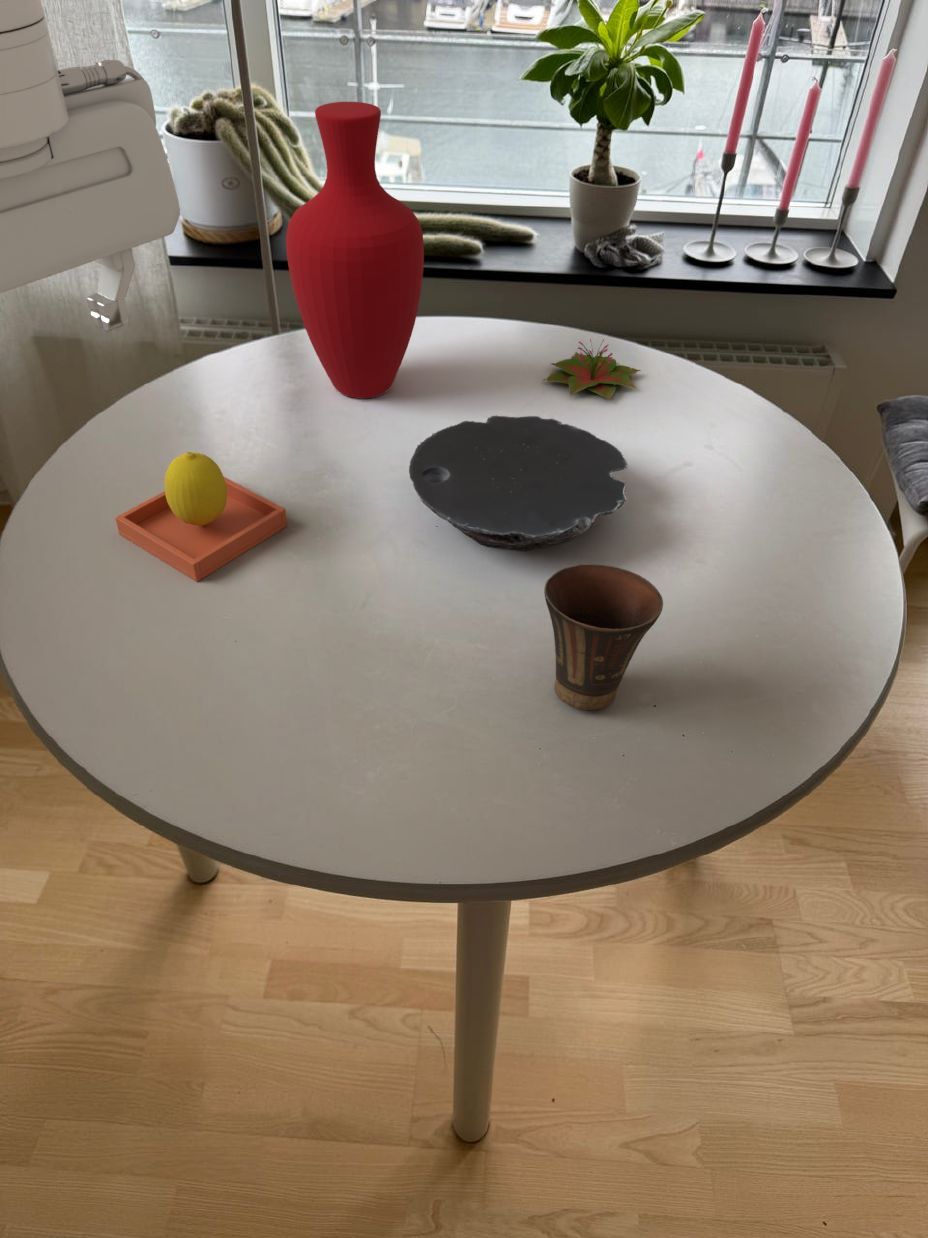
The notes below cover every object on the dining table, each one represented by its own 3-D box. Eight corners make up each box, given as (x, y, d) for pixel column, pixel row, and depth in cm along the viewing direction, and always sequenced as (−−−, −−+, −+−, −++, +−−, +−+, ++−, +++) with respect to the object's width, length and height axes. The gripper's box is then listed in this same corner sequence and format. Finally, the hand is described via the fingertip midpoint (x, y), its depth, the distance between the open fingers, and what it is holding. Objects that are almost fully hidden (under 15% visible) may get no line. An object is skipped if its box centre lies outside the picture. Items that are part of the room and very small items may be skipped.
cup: (643, 651, 81) (661, 556, 74) (647, 730, 74) (668, 633, 68) (537, 642, 82) (547, 547, 75) (533, 720, 75) (542, 623, 68)
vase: (372, 346, 122) (359, 82, 103) (451, 388, 115) (453, 111, 95) (275, 383, 115) (241, 105, 95) (352, 431, 107) (333, 138, 87)
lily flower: (615, 414, 111) (620, 378, 108) (524, 386, 115) (526, 350, 112) (657, 373, 118) (663, 338, 115) (570, 349, 123) (573, 314, 120)
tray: (196, 582, 87) (193, 564, 85) (119, 534, 92) (114, 517, 90) (287, 525, 93) (285, 508, 92) (210, 484, 98) (207, 467, 97)
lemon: (214, 547, 90) (200, 474, 84) (161, 535, 91) (145, 462, 86) (242, 515, 94) (231, 443, 88) (192, 503, 95) (178, 432, 90)
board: (365, 539, 92) (362, 494, 89) (462, 433, 107) (463, 391, 104) (583, 605, 85) (589, 559, 82) (654, 482, 100) (661, 439, 97)
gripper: (107, 43, 54) (155, 282, 64) (-286, 119, 42) (-157, 400, 52) (178, 62, 52) (218, 310, 61) (-222, 149, 40) (-97, 441, 49)
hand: (43, 352), depth 56 cm, fingers open, 8 cm apart
